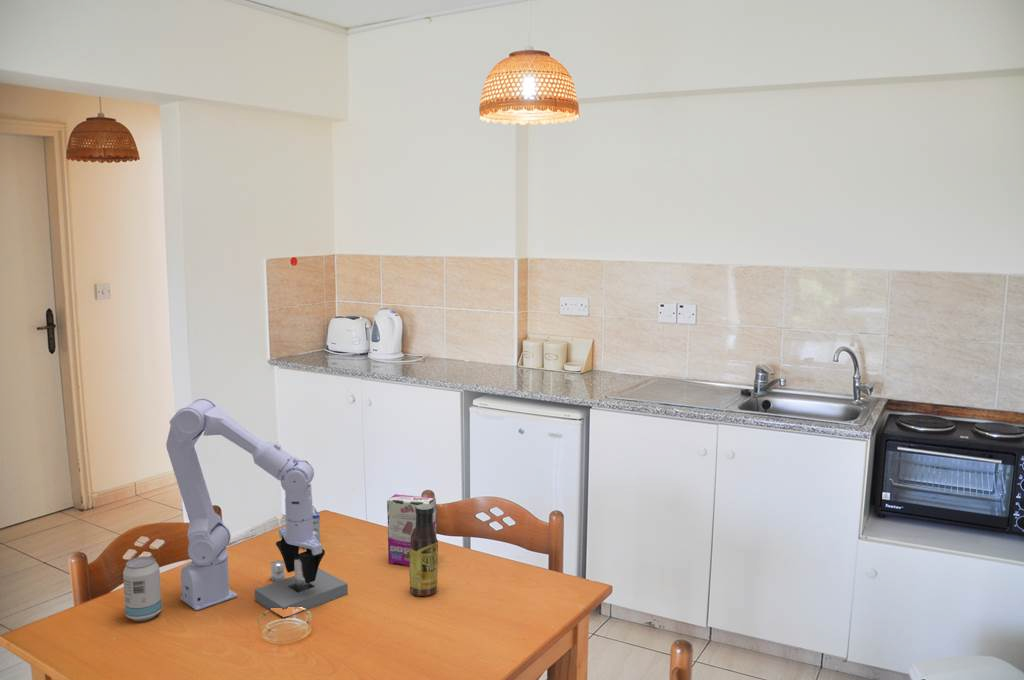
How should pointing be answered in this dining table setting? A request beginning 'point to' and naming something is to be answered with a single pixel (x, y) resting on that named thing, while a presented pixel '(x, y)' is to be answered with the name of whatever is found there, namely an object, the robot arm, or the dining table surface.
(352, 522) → the dining table surface
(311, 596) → the hole board
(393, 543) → the candy bar box
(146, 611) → the beverage can
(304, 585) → the tall pin
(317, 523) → the medicine box
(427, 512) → the sauce bottle
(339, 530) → the dining table surface
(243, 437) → the robot arm
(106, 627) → the dining table surface
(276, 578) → the short pin
